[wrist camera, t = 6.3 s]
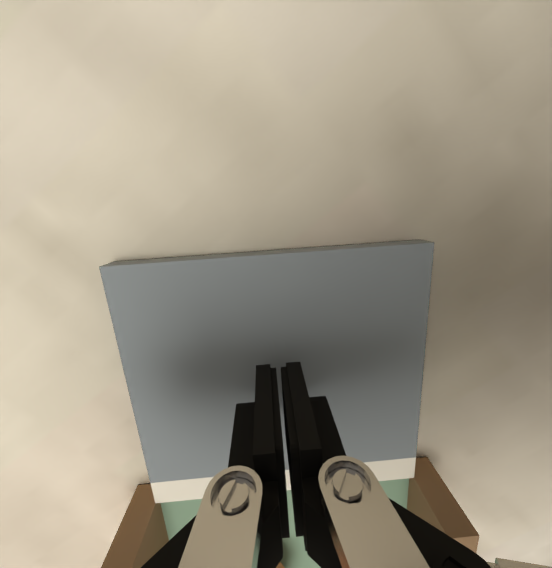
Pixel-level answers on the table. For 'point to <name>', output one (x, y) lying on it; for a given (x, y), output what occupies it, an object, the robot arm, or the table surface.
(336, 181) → the table surface
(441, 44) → the table surface
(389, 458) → the lane
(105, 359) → the table surface
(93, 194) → the table surface
